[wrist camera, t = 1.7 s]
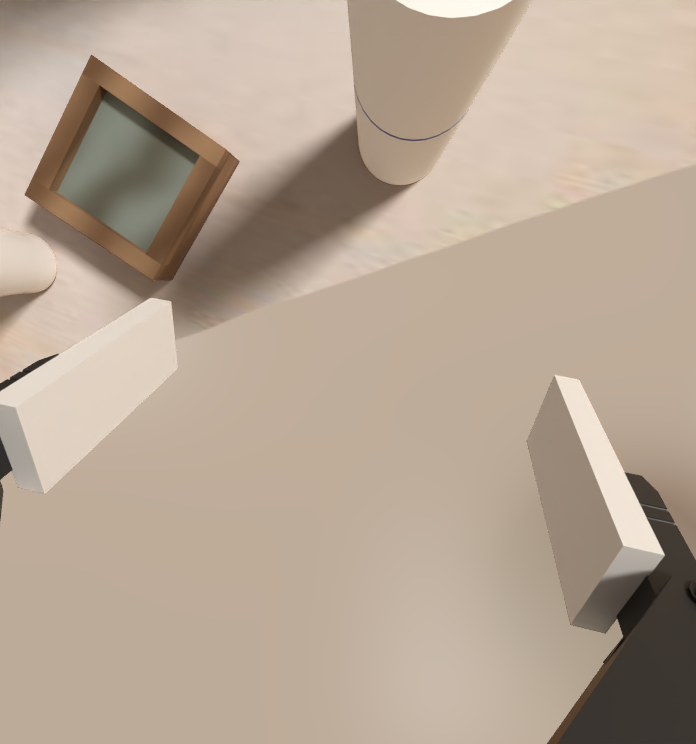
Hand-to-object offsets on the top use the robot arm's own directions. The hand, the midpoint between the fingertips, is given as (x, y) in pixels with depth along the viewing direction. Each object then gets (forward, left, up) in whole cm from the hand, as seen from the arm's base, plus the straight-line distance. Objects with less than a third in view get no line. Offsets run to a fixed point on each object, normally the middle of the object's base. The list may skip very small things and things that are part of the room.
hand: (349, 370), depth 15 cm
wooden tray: (-22, -1, -26) cm, 34 cm away
